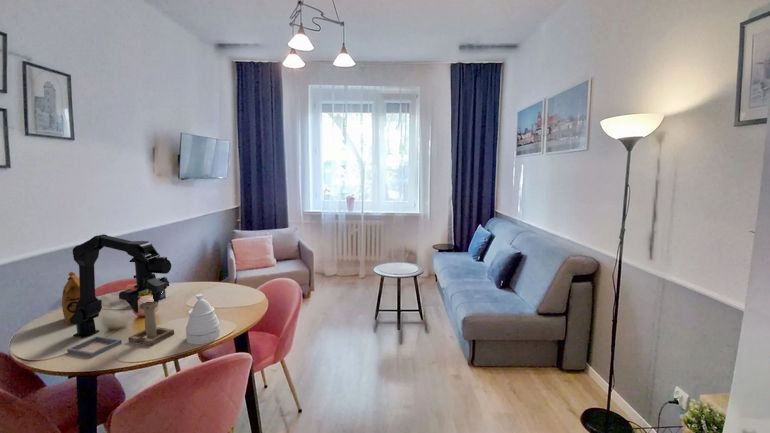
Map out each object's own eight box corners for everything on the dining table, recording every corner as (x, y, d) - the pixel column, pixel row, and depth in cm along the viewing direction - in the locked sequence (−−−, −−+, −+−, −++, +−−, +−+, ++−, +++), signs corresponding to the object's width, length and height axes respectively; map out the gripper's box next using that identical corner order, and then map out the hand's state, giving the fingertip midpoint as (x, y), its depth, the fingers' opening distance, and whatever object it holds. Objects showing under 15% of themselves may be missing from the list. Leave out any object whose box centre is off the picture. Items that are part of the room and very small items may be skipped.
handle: (158, 339, 152) (156, 305, 150) (141, 341, 150) (138, 306, 148) (161, 334, 156) (159, 301, 154) (144, 336, 154) (141, 302, 152)
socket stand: (128, 342, 149) (128, 337, 149) (152, 330, 160) (151, 326, 160) (151, 346, 146) (151, 341, 146) (174, 334, 157) (173, 329, 156)
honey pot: (182, 337, 154) (179, 296, 152) (213, 327, 163) (210, 289, 161) (193, 347, 145) (190, 304, 143) (225, 336, 155) (223, 296, 152)
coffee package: (61, 326, 163) (55, 279, 160) (65, 317, 173) (59, 272, 170) (89, 321, 169) (84, 275, 166) (91, 312, 179) (87, 269, 176)
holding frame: (67, 352, 140) (67, 349, 140) (98, 339, 152) (97, 335, 151) (92, 357, 137) (91, 353, 137) (121, 343, 148) (121, 339, 148)
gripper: (138, 281, 138) (141, 319, 141) (178, 268, 156) (180, 302, 158) (116, 278, 141) (119, 316, 144) (157, 265, 159) (160, 300, 161)
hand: (146, 308), depth 152 cm, fingers open, 9 cm apart
